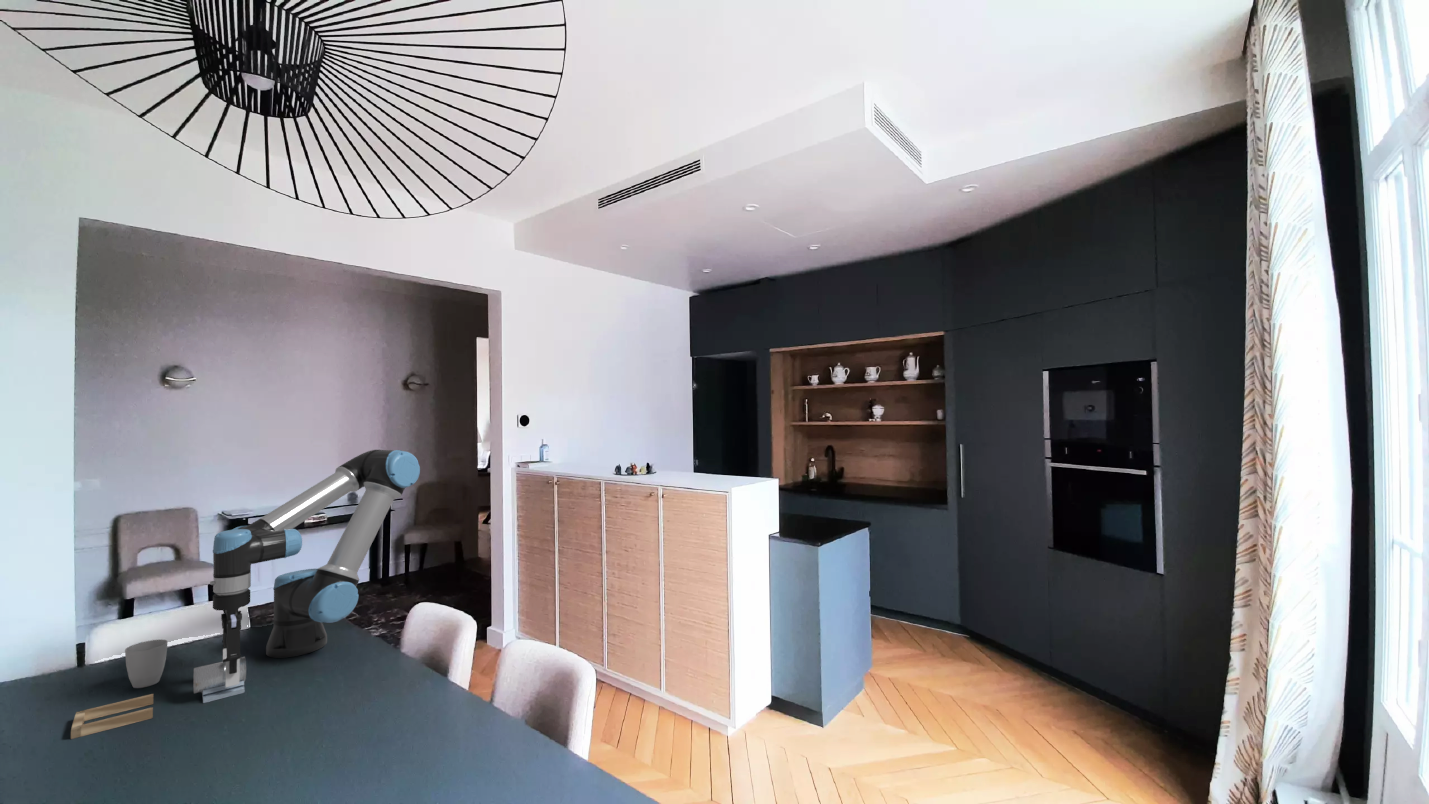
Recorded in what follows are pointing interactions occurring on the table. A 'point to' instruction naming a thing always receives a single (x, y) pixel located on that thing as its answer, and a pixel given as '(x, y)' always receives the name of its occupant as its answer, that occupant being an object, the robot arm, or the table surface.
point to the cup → (146, 662)
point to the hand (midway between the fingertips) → (230, 678)
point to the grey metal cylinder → (214, 675)
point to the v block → (222, 692)
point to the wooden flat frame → (113, 722)
